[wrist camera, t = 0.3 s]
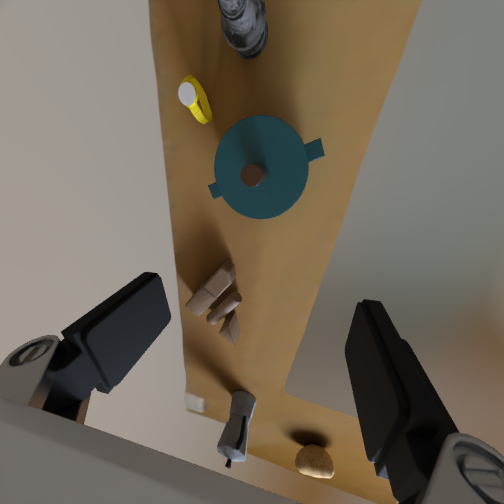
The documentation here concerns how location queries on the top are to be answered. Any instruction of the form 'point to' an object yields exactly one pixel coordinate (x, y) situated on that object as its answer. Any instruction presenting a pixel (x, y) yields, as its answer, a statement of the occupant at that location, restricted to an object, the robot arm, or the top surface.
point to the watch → (195, 99)
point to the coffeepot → (237, 428)
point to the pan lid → (261, 167)
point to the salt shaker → (244, 26)
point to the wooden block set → (211, 293)
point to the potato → (314, 462)
